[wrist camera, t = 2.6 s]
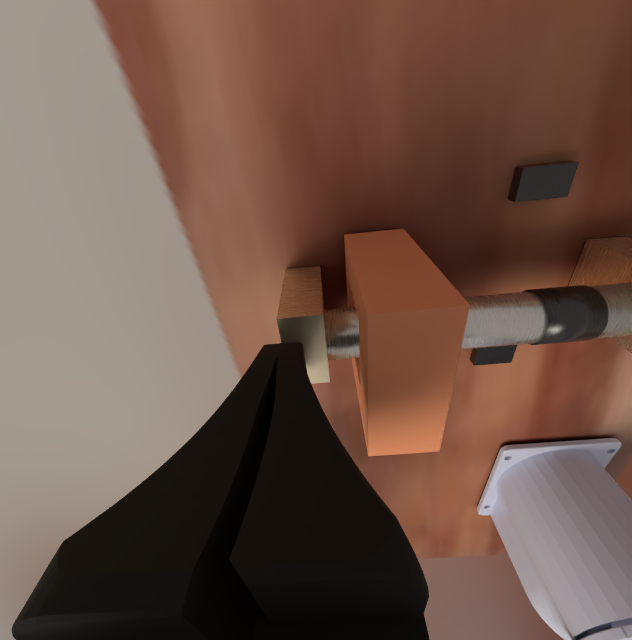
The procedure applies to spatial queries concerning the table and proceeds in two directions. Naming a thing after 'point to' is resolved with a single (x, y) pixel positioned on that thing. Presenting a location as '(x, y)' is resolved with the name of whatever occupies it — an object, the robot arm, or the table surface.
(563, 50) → the table surface
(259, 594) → the robot arm
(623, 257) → the pipe rail
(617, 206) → the table surface
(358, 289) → the upright terracotta block
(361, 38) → the table surface
